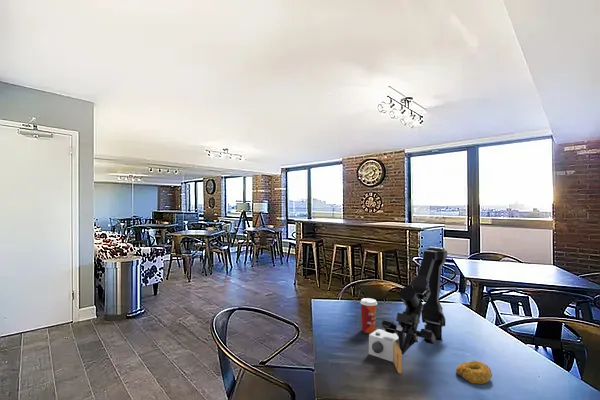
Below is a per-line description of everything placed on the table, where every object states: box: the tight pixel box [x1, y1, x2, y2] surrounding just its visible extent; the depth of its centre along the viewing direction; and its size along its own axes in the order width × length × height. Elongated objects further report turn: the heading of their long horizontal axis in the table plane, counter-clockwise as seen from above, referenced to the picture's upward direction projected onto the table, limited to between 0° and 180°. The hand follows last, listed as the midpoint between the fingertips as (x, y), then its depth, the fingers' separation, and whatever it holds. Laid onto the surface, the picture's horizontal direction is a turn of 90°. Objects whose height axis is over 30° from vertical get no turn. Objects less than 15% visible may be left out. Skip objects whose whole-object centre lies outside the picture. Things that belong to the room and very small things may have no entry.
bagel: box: [455, 360, 493, 385], centre depth 115 cm, size 10×11×5 cm
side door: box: [393, 341, 403, 374], centre depth 120 cm, size 8×1×8 cm, turn 176°
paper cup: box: [359, 297, 378, 334], centre depth 154 cm, size 8×8×14 cm
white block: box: [368, 328, 400, 363], centre depth 130 cm, size 9×10×8 cm
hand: (401, 354), depth 119 cm, fingers closed
